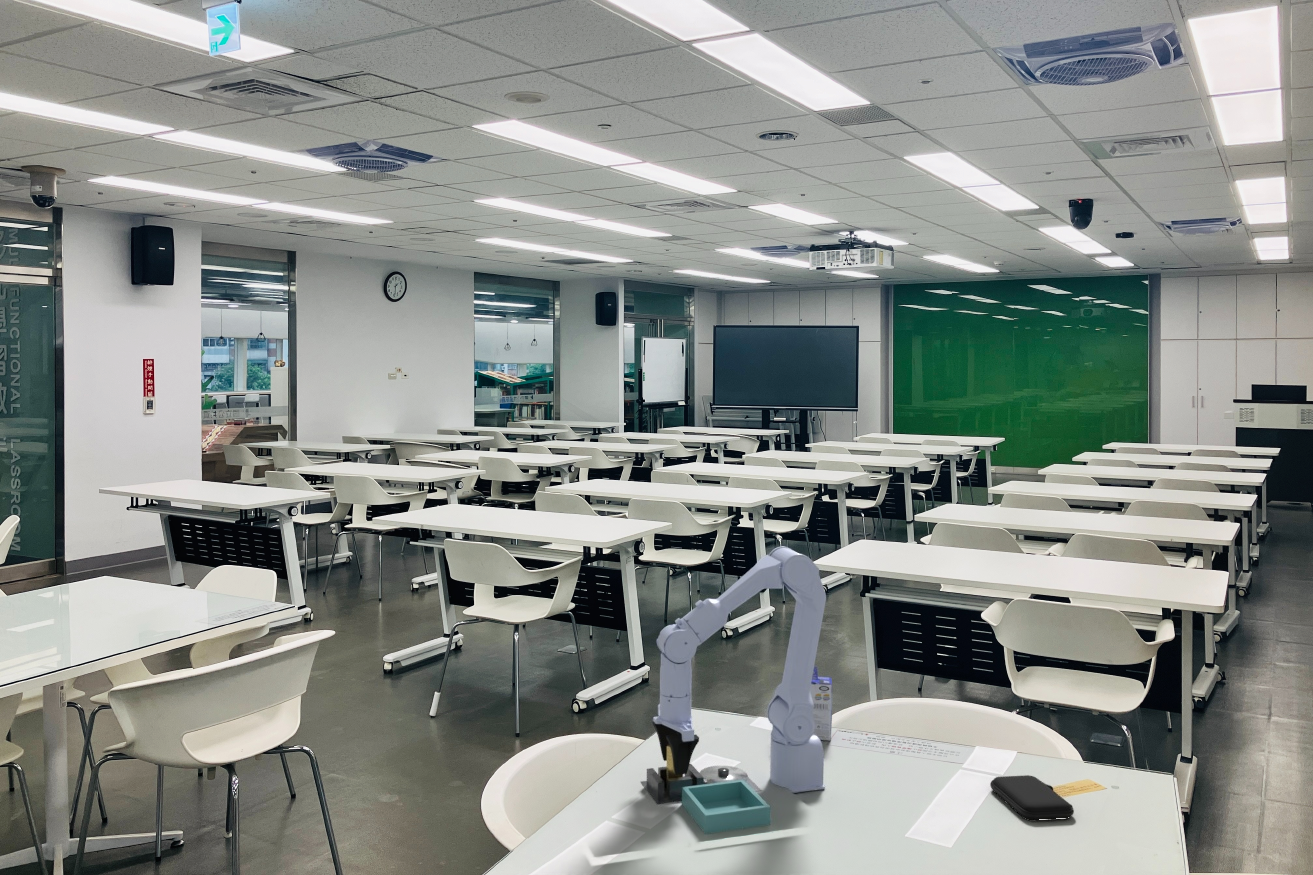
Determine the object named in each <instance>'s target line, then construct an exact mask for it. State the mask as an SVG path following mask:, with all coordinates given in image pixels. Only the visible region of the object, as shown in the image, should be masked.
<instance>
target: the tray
mask: <svg viewBox="0 0 1313 875" xmlns="http://www.w3.org/2000/svg"><path fill="white" fill-rule="evenodd" d="M681 805H682V806H683V807H684V809H685V810H686V811H687V814H689V815H690V816H691V818H692V819H693V820H694V822H695V823H696V824H697V826H698V827H699V828H700V829H701V830H702V831H703V832H704V834H705V835H706V834H707V835H708V834H713V833H719V832H720V833H721V832H727V831H735V830H741V829H748V828H756V827H762V826H769V825H771V806H770V805H769V804H768V802H766V800H764V799H763V797H761V796H760V795H759V794H758V792H757V791H756V792H755V791H754V790H753V789H752V788H751V787H750V786H749V785H748V784H747V783H746V782H745V781H744V780H736V781H728V782H720V783H712V784H704V785H696V786H688V787H682V801H681Z"/></svg>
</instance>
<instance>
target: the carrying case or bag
mask: <svg viewBox="0 0 1313 875" xmlns="http://www.w3.org/2000/svg"><path fill="white" fill-rule="evenodd" d="M989 784H990V786H989V787H990V788H991V790H992V791H993V792H994V791H995V792H996V793H997V794H998V795H999V796H1000V797H1001V798H1002V800H1003V801H1004V800H1005V801H1006V802H1007V803H1008V804H1009V805H1010V806H1011V807H1010V806H1009V805H1008V804H1007V803H1006V802H1005V801H1004V802H1005V803H1006V804H1007V805H1008V806H1009V807H1010V808H1012V807H1013V808H1014V809H1015V810H1016V811H1017V812H1018V813H1017V812H1016V811H1015V810H1014V809H1013V808H1012V809H1013V810H1014V811H1015V812H1016V813H1017V814H1018V815H1020V816H1021V815H1022V816H1023V817H1024V818H1023V817H1022V816H1021V817H1022V818H1023V819H1025V818H1026V819H1025V820H1027V819H1029V820H1039V819H1056V818H1068V817H1070V818H1071V817H1072V816H1074V814H1075V810H1074V808H1073V805H1072V804H1071V803H1069V802H1068V801H1067V800H1065V799H1064V798H1063V797H1062V796H1061V795H1060V794H1058V793H1057V792H1056V791H1055V790H1054V787H1053V786H1052V785H1050V784H1046V783H1045V782H1043V781H1041V780H1040V779H1039V778H1037V777H1036V776H1034V775H1029V774H1028V775H1025V774H1024V775H1008V776H1005V775H1002V776H996V777H994V778H993V780H991V781H990V783H989ZM995 792H994V793H995ZM996 793H995V794H996ZM997 794H996V795H997ZM998 795H997V796H998ZM999 796H998V797H999ZM1000 797H999V798H1000ZM1001 798H1000V799H1001ZM1068 819H1069V818H1068ZM1029 820H1028V821H1029Z"/></svg>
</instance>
